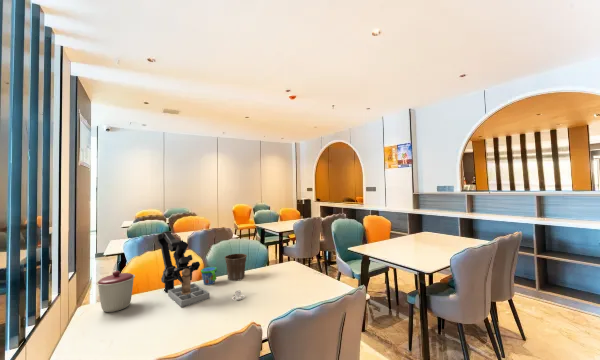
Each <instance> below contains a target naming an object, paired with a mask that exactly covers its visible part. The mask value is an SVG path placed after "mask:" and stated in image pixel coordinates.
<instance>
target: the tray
mask: <svg viewBox="0 0 600 360" xmlns="http://www.w3.org/2000/svg"><path fill="white" fill-rule="evenodd" d="M174 288H175V289H171V290H168V292H167V296H168V297H169V298H170V299H171V300H172V301H173V302H174V301H175V302H174V303H176V305H178V306H179V307H180V308H181V309H182V308H185V307H188V306H192V305H195V304H197V303H201V302H203V301H206V300H210V298H211V297H210V292H209V291H207V290H205V289H204V288H202V287H201V286H199V285H198V284H196V283H195V282H194V283H191V293H190V294H187V295H182V294H181V292H182V286H179V287H174Z"/></svg>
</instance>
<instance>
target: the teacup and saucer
mask: <svg viewBox="0 0 600 360" xmlns="http://www.w3.org/2000/svg"><path fill="white" fill-rule="evenodd" d="M234 298H235V299H234ZM245 298H246V296H245V294H241V290H235V295H234V296H232V297H231V300H233V301H241V300H243V299H245Z"/></svg>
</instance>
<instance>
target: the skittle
mask: <svg viewBox="0 0 600 360" xmlns="http://www.w3.org/2000/svg"><path fill="white" fill-rule="evenodd" d="M189 274H190V270H189V269H188V268H185V269H183V270H182V271H181V277H182V280H183V283H181V287H182V292H181V294H182V295H187V294H190V293H191V284H192V283H191V281H192V280H190V275H189Z"/></svg>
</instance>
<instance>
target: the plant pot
mask: <svg viewBox="0 0 600 360" xmlns="http://www.w3.org/2000/svg"><path fill="white" fill-rule="evenodd" d="M247 257H248V255H247V254H245V253H232V254H228V255H226V256H224V260H225V265H226V273H227V275H226V276H227V280H228V281H229V280H230V281H239V280H240V279H241V280H242V279H244V278H245V276H246V275H245V274H246V261H247Z"/></svg>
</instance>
